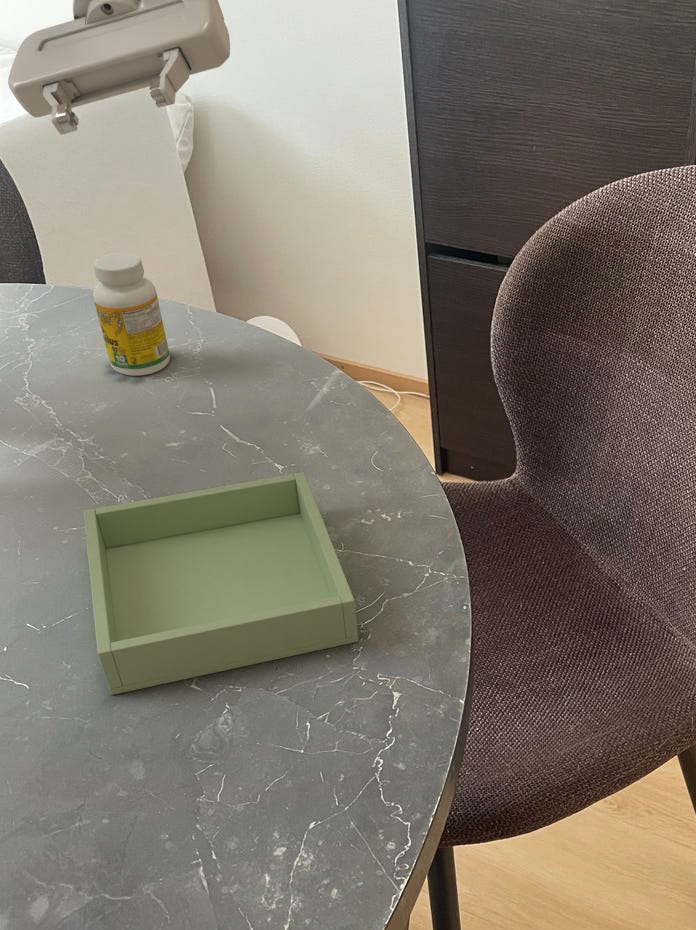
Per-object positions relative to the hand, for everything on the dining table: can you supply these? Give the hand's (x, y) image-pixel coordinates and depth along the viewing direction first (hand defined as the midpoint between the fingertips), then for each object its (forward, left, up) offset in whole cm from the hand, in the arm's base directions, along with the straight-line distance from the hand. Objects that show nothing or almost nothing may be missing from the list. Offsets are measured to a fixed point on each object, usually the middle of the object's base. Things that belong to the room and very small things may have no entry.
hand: (112, 113), depth 91 cm
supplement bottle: (-2, -9, -19) cm, 21 cm away
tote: (0, -45, -19) cm, 49 cm away
